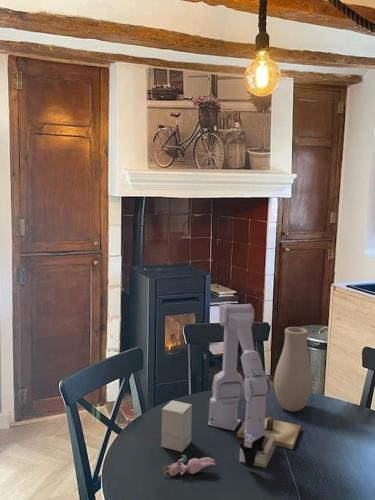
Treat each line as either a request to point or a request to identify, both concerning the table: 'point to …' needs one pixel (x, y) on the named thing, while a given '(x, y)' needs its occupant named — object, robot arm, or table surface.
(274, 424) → the board
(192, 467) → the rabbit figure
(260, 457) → the beige hollow boxy piece
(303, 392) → the vase
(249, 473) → the table surface
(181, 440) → the supplement box
